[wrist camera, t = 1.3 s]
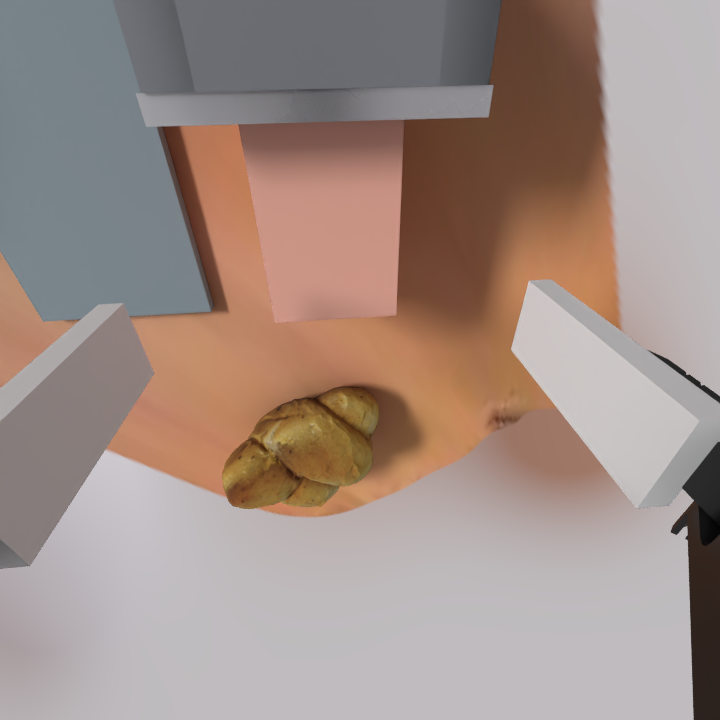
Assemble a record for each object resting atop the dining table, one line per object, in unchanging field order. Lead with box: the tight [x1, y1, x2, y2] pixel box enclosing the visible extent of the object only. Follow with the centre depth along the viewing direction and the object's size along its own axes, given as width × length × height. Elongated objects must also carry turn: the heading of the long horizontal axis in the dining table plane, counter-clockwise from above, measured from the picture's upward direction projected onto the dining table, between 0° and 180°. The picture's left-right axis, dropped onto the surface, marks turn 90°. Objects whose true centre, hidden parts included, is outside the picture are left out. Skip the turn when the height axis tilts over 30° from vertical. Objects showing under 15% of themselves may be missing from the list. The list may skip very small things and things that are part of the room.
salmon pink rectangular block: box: [238, 120, 404, 323], centre depth 17 cm, size 13×6×8 cm, turn 1°
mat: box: [0, 0, 214, 321], centre depth 19 cm, size 18×11×1 cm, turn 1°
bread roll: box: [222, 387, 379, 509], centre depth 30 cm, size 13×10×8 cm
